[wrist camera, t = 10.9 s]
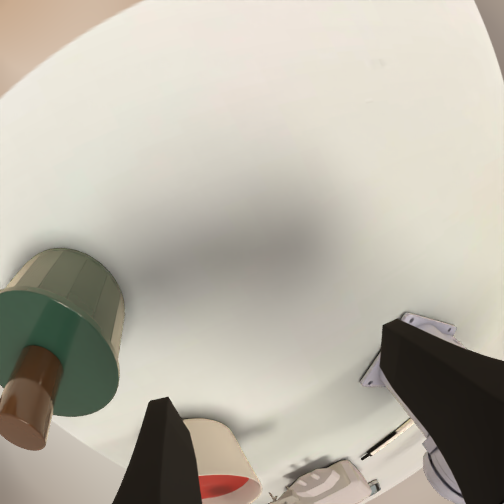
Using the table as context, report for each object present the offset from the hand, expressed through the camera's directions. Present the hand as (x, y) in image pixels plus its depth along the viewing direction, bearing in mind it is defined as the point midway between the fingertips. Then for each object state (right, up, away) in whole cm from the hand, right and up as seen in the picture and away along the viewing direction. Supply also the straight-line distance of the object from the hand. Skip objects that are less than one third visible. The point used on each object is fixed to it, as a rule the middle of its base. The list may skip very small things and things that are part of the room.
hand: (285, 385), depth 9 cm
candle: (-6, -12, +15) cm, 20 cm away
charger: (+8, -25, +24) cm, 36 cm away
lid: (-11, -1, +3) cm, 12 cm away
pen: (+21, -17, +24) cm, 36 cm away
